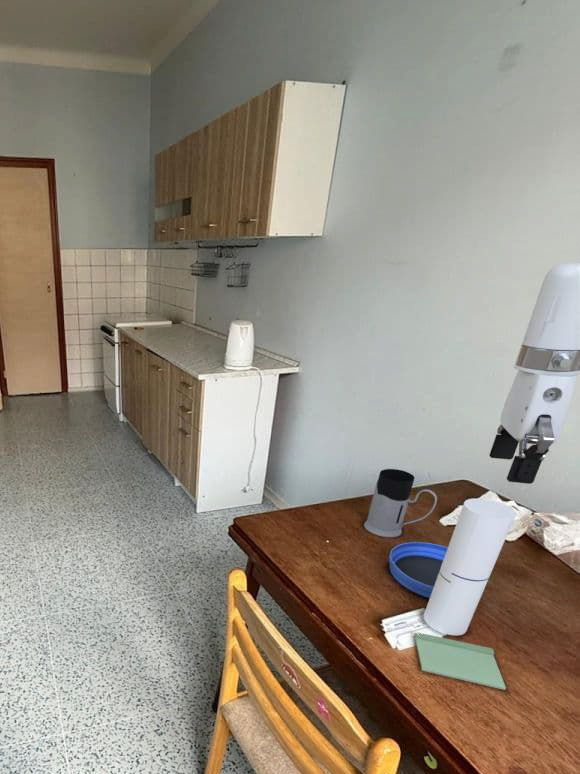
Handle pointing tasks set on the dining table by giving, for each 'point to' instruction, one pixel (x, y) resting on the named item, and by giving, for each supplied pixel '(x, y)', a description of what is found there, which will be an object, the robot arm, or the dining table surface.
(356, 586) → the dining table surface
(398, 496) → the glass holder
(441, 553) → the bowl
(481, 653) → the green flat panel
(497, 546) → the cylindrical container
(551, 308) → the robot arm
